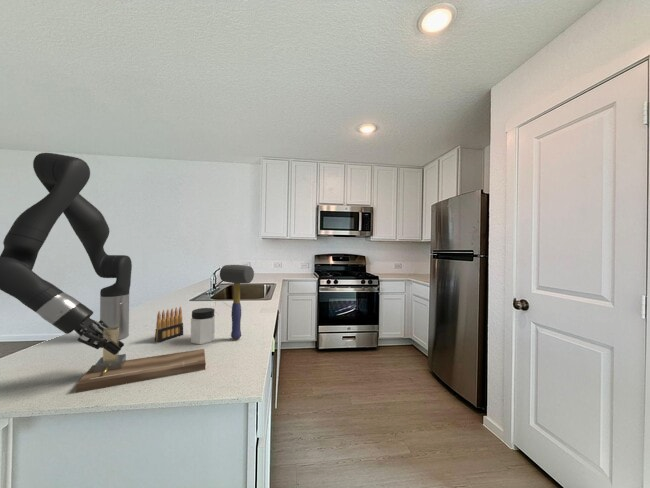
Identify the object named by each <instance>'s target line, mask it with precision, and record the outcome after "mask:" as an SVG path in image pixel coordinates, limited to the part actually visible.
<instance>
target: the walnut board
mask: <svg viewBox="0 0 650 488" xmlns="http://www.w3.org/2000/svg"><path fill="white" fill-rule="evenodd" d="M205 354H206V353H205V348H201V349H194V350H187V351H181V352H174V353H173V352H172V353H167V354H161V355H160V354H159V355H153V356H148V357H142V358H139V357H138V358H134V359H133V358H132V359H126V361H125V363H124V364H123V366H122V368H121V369H116V370H109V371H106V373H103V372H97V373H94V366H95V364H93V365H91V367H89V369H88V370H87V371H86V373H85V374H84V375H83V376H82V377H81V378H80V380H79V381H78V382H77V383H76V385H75V393H81V392H87V391H93V390H98V389H105V388H110V387H115V386H121V385H127V384H130V383H131V384H133V383H136V382H137V383H138V382H143V381H149V380H155V379H160V378H166V377H171V376H177V375H181V374H188V373H192V372H193V373H194V372H199V371H205V370H206V367H207V366H206V363H207V362H206V355H205ZM132 382H133V383H132ZM126 383H127V384H126Z"/></svg>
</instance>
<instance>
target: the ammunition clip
mask: <svg viewBox="0 0 650 488" xmlns="http://www.w3.org/2000/svg"><path fill="white" fill-rule="evenodd" d="M155 327H156V328H155V335H154V343H156V344H159V343H163V342H165V341H168V340H172V339H175V338H177V337H181V336H184V323H183V310H182V307H181V306H179V309H178V307H175V309H174V308H171V309H170V310H169V309H168V308H167V310H166V312H165V310H164V309H163V310H162V312H160V310H159V311H158V312H157V316H156V326H155Z"/></svg>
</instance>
